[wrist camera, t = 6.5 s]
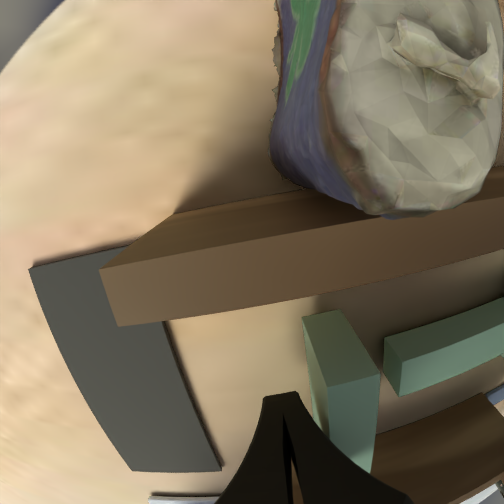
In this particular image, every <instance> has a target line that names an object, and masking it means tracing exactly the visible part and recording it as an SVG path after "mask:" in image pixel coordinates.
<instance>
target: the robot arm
mask: <svg viewBox="0 0 504 504" xmlns="http://www.w3.org/2000/svg"><path fill="white" fill-rule="evenodd" d="M291 458H292V461H293V465H294V468H295V472H296V476H297V479H298V483H299V486H300V490H301V494H302V498H303V504H415V503H414V502H413V501H412V500H411V498H410V497H409V496H408V495H407V494H406V493H403V492H401V491H399V490H397V489H395V488H393V487H391V486H389V485H387V484H386V483H384V482H382V481H380V480H379V479H377V478H375V477H374V476H372V475H371V474H370V473H368V472H367V471H365V470H364V469H362V468H361V467H360V466H358V465H357V464H356V463H354V462H353V461H352V460H351V459H350V458H348V457H347V456H346V455H345V454H344V453H343V452H342V451H341V450H339V449H338V448H337V447H336V446H335V445H334V444H333V443H332V441H331V440H330V439H329V438H328V437H327V436H326V435H325V434H324V432H323V431H322V430H321V429H320V428H319V426H318V425H317V424H316V422H315V421H314V420H313V418H312V417H311V415H310V414H309V412H308V411H307V409H306V408H305V406H304V404H303V402H302V400H301V398H300V396H299V393H298V392H296V391H293V392H287V393H282V394H276V395H270V396H265V397H264V398H263V403H262V409H261V414H260V418H259V422H258V425H257V428H256V431H255V434H254V437H253V439H252V442H251V444H250V446H249V449H248V451H247V453H246V456H245V458H244V460H243V462H242V463H241V465H240V467H239V469H238V471H237V472H236V474H235V476H234V477H233V479H232V480H231V482H230V483H229V485H228V486H227V488H226V489H225V491H224V492H223V493H222V495H221V496H220V497H164V496H149V498H148V502H149V503H150V504H294V501H293V486H292V463H291Z"/></svg>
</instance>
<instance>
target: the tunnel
mask: <svg viewBox="0 0 504 504" xmlns="http://www.w3.org/2000/svg"><path fill="white" fill-rule="evenodd" d="M501 249H504V166H498V167H492V168H491V169H490V171H489V173H488V174H487V177H486V179H485V182H484V184H483V186H482V189H481V191H480V193H478V194H477V195H475V196H474V197H472V198H470V199H469V200H467V201H466V202H464V203H462V204H461V205H459V206H458V207H456V208H454V209H446V210H438V211H436V212H434V213H432V214H430V215H428V216H425V217H423V218H422V217H409V218H402V219H396V220H388V219H385V218H384V217H382V216H380V215H370V214H366V213H365V212H364V211H363V210H359V209H357V208H356V207H355V206H354V205H353V204H349V203H345V202H343V201H340V200H337V199H335V198H333V197H330V196H328V195H327V194H325V193H319V192H318V191H317V190H314V189H305V190H299V191H293V192H287V193H281V194H275V195H270V196H264V197H258V198H253V199H247V200H242V201H237V202H232V203H226V204H221V205H216V206H211V207H206V208H201V209H196V210H192V211H187V212H182V213H177V214H173V215H171V216H169V217H168V218H167V219H165V220H164V221H162V222H161V223H160V224H158V225H157V226H155V227H154V228H153V229H151V230H150V231H149V232H147V233H146V234H145V235H143V236H142V237H140V238H139V239H138V240H136V241H135V242H134V243H132V244H131V245H130V246H128V247H127V248H126V249H124V250H123V251H122V252H121V253H119V254H118V255H117V256H115V257H114V258H113V259H111V260H110V261H109V262H108V263H106V264H105V265H104V266H102V267H101V268H100V269H99V272H100V276H101V279H102V282H103V285H104V288H105V291H106V294H107V297H108V300H109V303H110V306H111V309H112V312H113V314H114V317H115V320H116V323H117V325H118V327H121V326H129V325H137V324H145V323H152V322H160V321H167V320H174V319H181V318H188V317H195V316H201V315H208V314H214V313H220V312H226V311H232V310H238V309H244V308H250V307H255V306H261V305H267V304H272V303H277V302H283V301H288V300H293V299H298V298H304V297H309V296H314V295H319V294H323V293H328V292H333V291H338V290H342V289H347V288H352V287H356V286H361V285H365V284H370V283H374V282H378V281H383V280H387V279H391V278H396V277H400V276H404V275H408V274H412V273H416V272H420V271H424V270H428V269H432V268H436V267H440V266H443V265H447V264H451V263H455V262H458V261H462V260H466V259H469V258H473V257H476V256H480V255H484V254H487V253H490V252H494V251H497V250H501ZM291 463H292V486H293V501H294V504H303V498H302V494H301V490H300V486H299V483H298V479H297V476H296V472H295V468H294V465H293V461H292V458H291ZM370 474H371V475H372V476H374V477H375V478H377V479H379V480H380V481H382V482H384V483H386V484H387V485H389V486H391V487H393V488H395V489H397V490H399V491H401V492H403V493H406V494H407V495H408V496H409V497H410V498H411V500H412V501H413V502H414V503H415V504H460V503H461V502H463V501H465V500H467V499H469V498H471V497H473V496H474V495H476V494H478V493H480V492H481V491H483V490H485V489H486V488H488V487H490V486H491V485H493V484H495V483H496V482H498V481H499V480H501V481H502V482H503V484H504V417H503V416H502V415H501V414H500V412H499V411H498V410H497V409H496V408H495V407H494V405H493V404H492V403H491V402H490V401H489V400H488V398H487V397H486V396H485V395H484V394H483V393H480V394H478V395H476V396H474V397H472V398H470V399H468V400H466V401H464V402H461V403H459V404H457V405H455V406H453V407H450V408H448V409H446V410H444V411H441V412H439V413H436V414H434V415H432V416H429V417H427V418H424V419H421V420H419V421H416V422H414V423H411V424H408V425H405V426H402V427H400V428H397V429H394V430H391V431H388V432H385V433H381V434H378V435H375V442H374V450H373V457H372V464H371V470H370Z"/></svg>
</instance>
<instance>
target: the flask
mask: <svg viewBox="0 0 504 504" xmlns="http://www.w3.org/2000/svg"><path fill="white" fill-rule="evenodd" d="M274 6H275V7H274V10H275V11H278V16H279V21H278V22H279V24H278V27H279V29H278V31H277V33H278V34H277V36H276V37H275V38H274V43H275V45H274V48H273V49H272V51H273V53H274V58H273V61H274V63H275V65H274V66H277V71H278V74H279V76H280V78H279V79H280V80H279V83H278V86H277V87H276V88H274V89H273V90H272V91H273V92H274V93H275V97H276V101H277V109H276V112H275V114H274V116H273V119H270V121H271V122H272V124H271V131H270V134H269V148H268V155H269V157H270V159H271V161H272V163H273V165H274V166H275V168H276V169H277V170H278V171H279V172H280V173H281V176H282V179H283V180H284V179H286V178H288V179H290V180H291V181H292V182H293V183H295V184H297V185H299V186H300V185H301V186H303V187H305V188H306V189H314V190H317V191H318V192H319V193H325V194H327V195H328V196H330V197H333V198H335V199H337V200H340V201H343V202H345V203H349V204H353V205H354V206H355V207H356V208H357V209H359V210H363V211H364V212H365V213H366V214H370V215H380V216H382V217H384V218H385V219H388V220H396V219H402V218H409V217H422V218H423V217H425V216H428V215H430V214H432V213H434V212H436V211H438V210H446V209H454V208H456V207H458V206H459V205H461V204H462V203H464V202H466V201H467V200H469V199H470V198H472V197H474V196H475V195H477V194H478V193H480V191H481V189H482V186H483V184H484V182H485V179H486V177H487V174H488V173H489V171H490V169H491V168H492V166H493V164H494V162H495V160H496V155H497V150H498V145H499V140H500V134H501V128H502V91H503V72H504V33H503V23H502V18H501V13H500V8H499V3H498V0H276V1H275V3H274Z"/></svg>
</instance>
